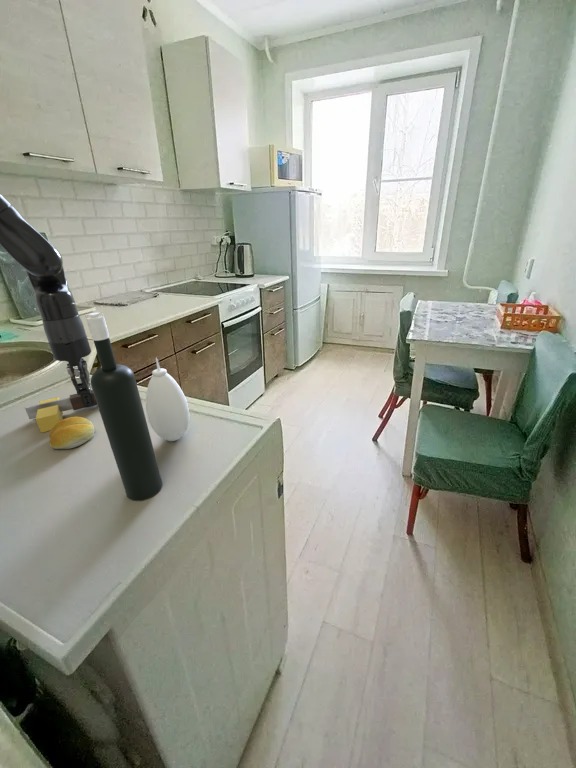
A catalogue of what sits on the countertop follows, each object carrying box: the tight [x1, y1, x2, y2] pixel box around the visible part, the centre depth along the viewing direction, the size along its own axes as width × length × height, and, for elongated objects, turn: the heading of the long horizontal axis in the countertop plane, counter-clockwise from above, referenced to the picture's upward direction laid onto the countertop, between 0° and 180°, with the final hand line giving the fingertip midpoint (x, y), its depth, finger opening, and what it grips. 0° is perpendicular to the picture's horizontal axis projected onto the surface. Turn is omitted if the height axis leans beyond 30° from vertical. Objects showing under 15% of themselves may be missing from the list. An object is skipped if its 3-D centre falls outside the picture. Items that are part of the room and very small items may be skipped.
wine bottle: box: [84, 311, 163, 502], centre depth 53 cm, size 6×6×30 cm
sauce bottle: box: [145, 357, 191, 442], centre depth 69 cm, size 8×8×18 cm
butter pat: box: [38, 396, 64, 415], centre depth 84 cm, size 2×4×4 cm, turn 118°
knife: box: [24, 389, 98, 420], centre depth 84 cm, size 16×2×3 cm, turn 118°
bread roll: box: [49, 416, 96, 450], centre depth 74 cm, size 8×9×4 cm
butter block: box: [35, 405, 64, 433], centre depth 79 cm, size 5×4×4 cm
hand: (89, 403), depth 86 cm, fingers closed on knife, 2 cm apart
